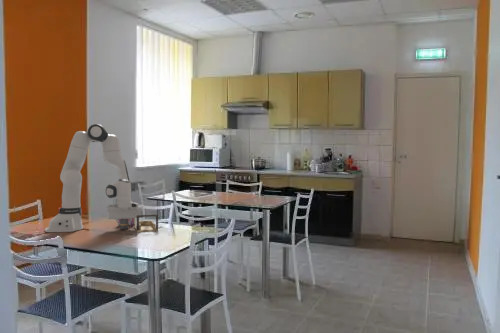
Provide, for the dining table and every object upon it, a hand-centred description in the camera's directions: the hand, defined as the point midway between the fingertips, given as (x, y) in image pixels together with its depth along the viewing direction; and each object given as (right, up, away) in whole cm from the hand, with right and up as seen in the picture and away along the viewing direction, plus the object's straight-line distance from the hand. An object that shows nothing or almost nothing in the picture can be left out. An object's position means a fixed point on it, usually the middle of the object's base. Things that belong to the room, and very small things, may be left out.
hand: (124, 225), depth 282 cm
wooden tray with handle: (+14, -3, +1) cm, 14 cm away
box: (-3, -2, +15) cm, 16 cm away
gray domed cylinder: (0, -2, 0) cm, 2 cm away
